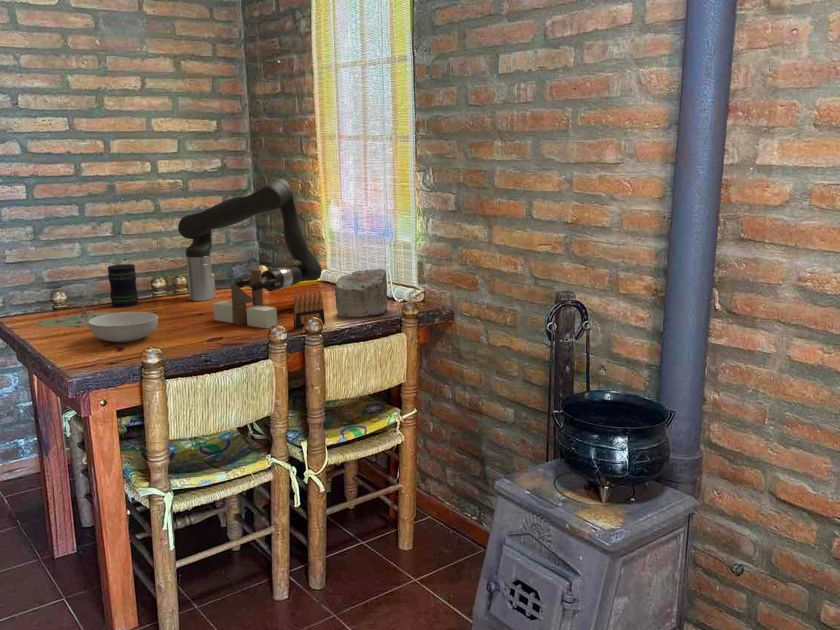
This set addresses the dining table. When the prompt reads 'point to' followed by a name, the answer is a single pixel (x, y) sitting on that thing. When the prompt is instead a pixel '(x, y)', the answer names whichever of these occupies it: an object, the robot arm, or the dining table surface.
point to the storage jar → (123, 285)
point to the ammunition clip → (308, 308)
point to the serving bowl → (123, 326)
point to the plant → (73, 318)
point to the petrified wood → (361, 293)
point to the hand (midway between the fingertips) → (244, 286)
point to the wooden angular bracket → (245, 298)
